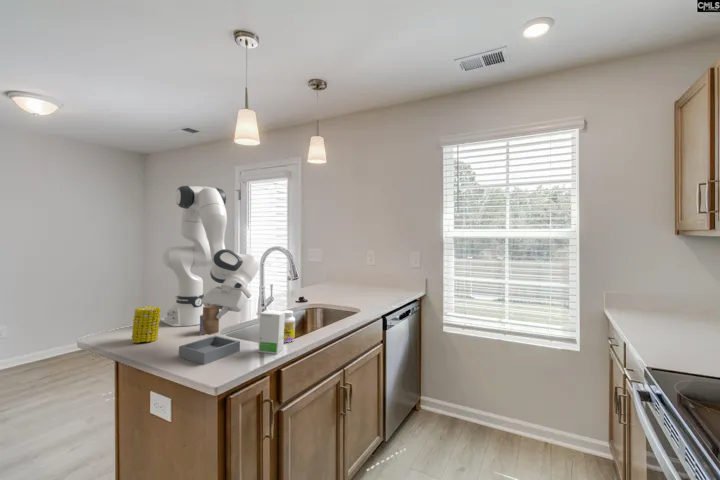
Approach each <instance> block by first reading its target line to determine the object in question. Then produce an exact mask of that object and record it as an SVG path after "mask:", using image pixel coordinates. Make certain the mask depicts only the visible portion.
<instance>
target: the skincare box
mask: <svg viewBox="0 0 720 480" xmlns="http://www.w3.org/2000/svg"><path fill="white" fill-rule="evenodd" d="M284 311H285V310H275V309H273V310H272V309H265V310H264V311H261V312H260V315H259V316H260V317H259V333H258V349H257V350H258V351H257V352H258V353H262V354H273V355H274V354H275V355H278V354H279V353H280V352H281V351H282V349H284V343H283V342H284V323H285V312H284Z"/></svg>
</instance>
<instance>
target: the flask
mask: <svg viewBox="0 0 720 480" xmlns="http://www.w3.org/2000/svg"><path fill="white" fill-rule="evenodd" d="M199 335H200V336H204V335H205V336H206V334H203V314H202V315H200V324H199Z"/></svg>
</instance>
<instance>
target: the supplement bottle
mask: <svg viewBox="0 0 720 480" xmlns="http://www.w3.org/2000/svg"><path fill="white" fill-rule="evenodd" d="M283 311H284V312H285V323H284V342H283V344H287V343H286V342H289V343H292V342H291V341H293V340H294V341H295V339H296V338H295V337H296V336H295V335H296V334H295V333H296V318H295V317H294V316H293V315H294V311H293V310H289V309H288V310H287V309H286V310H283ZM294 341H293V342H294Z"/></svg>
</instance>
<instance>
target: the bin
mask: <svg viewBox="0 0 720 480" xmlns="http://www.w3.org/2000/svg"><path fill="white" fill-rule="evenodd" d="M240 347H241V341H239V340H236V339H232V338H228V337H223V336H218V335H215V334H214V335H213V336H212V335H211V336H209V337H205V338H203V339H199V340H195V341H192V342H189V343H186V344H182V345H179V347H178V357H179V358H181V359H183V360H188V361H191V362H194V363H198V364H201V365H207V364H210V363H213V362H215V361H218V360H221V359H223V358H226V357H228V356H230V355H234V354H236V353H239V352H241V351H240V349H241V348H240Z"/></svg>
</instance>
